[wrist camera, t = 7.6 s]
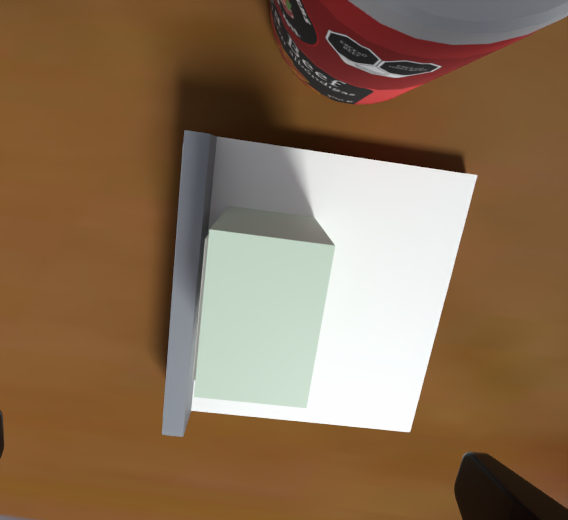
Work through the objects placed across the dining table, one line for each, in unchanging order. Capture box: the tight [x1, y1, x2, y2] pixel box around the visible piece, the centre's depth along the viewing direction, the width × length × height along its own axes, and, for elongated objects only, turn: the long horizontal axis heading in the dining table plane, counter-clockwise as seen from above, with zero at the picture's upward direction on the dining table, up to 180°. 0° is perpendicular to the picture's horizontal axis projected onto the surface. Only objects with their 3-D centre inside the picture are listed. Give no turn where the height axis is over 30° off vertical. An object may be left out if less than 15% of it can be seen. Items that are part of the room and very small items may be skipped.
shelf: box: [162, 130, 477, 437], centre depth 19 cm, size 13×14×3 cm
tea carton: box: [192, 206, 335, 408], centre depth 16 cm, size 4×6×6 cm
